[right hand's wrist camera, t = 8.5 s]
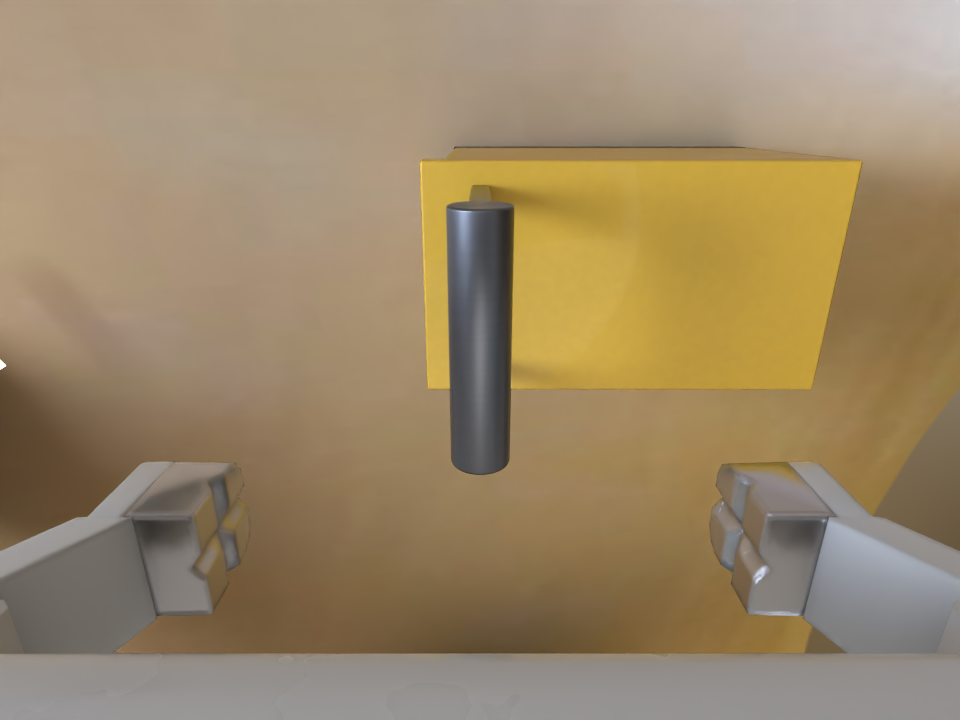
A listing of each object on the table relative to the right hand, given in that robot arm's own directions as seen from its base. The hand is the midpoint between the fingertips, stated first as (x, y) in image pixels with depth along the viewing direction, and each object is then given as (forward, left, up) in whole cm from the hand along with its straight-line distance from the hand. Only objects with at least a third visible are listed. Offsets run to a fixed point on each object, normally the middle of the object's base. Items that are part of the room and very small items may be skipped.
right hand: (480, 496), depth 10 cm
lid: (+4, +4, -16) cm, 17 cm away
